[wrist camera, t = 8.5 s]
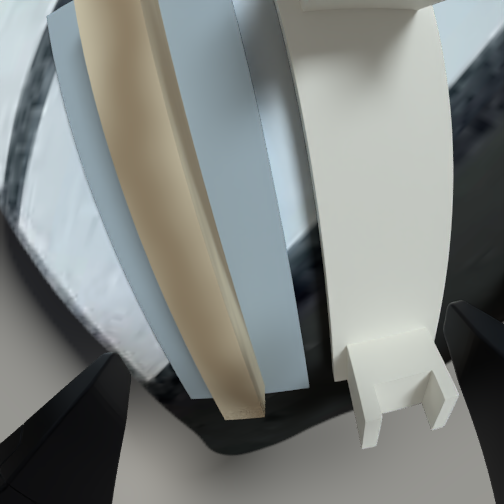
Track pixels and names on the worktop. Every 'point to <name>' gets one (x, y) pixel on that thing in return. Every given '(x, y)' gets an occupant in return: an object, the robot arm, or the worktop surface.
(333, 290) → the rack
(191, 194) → the rail
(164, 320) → the mat
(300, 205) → the worktop surface
